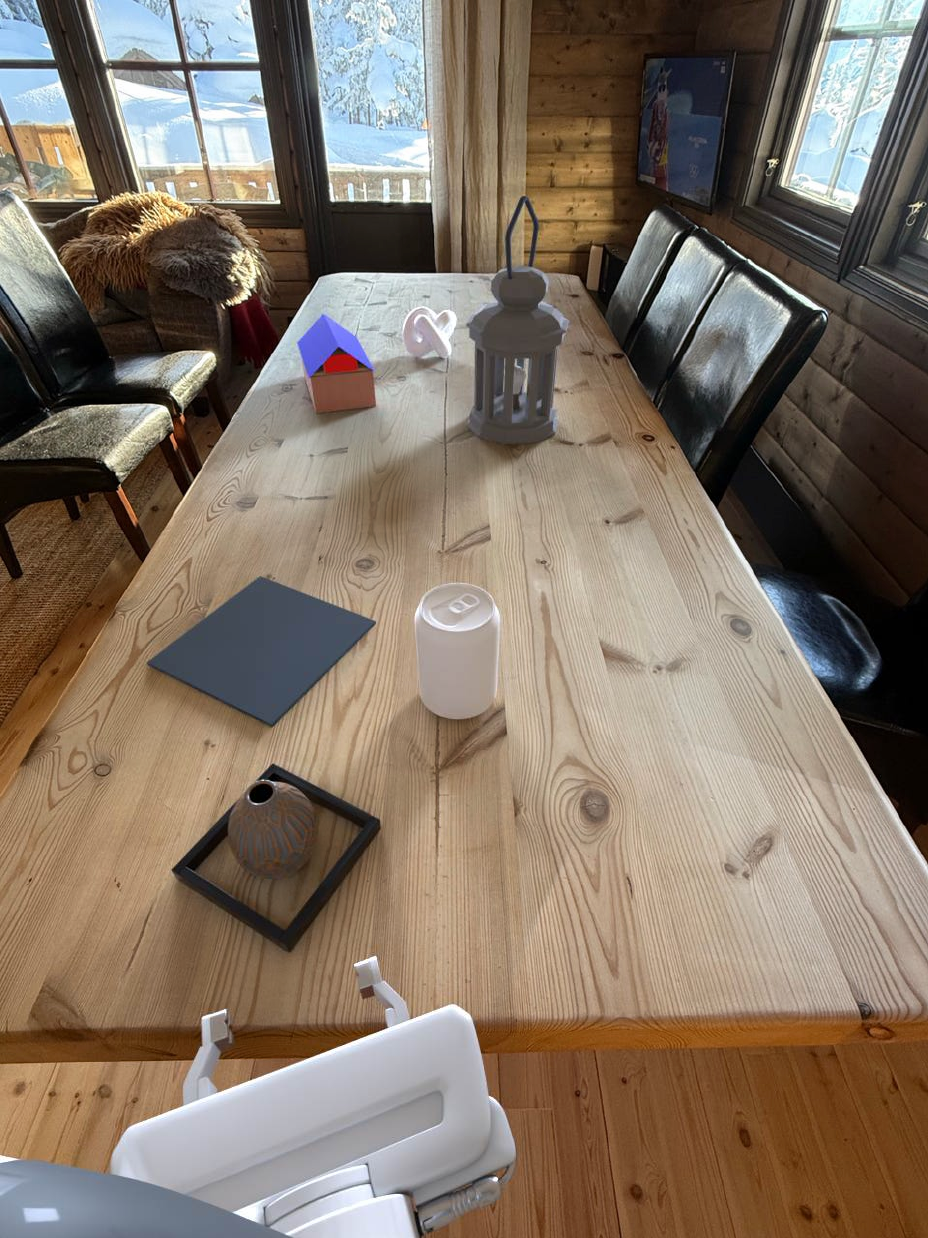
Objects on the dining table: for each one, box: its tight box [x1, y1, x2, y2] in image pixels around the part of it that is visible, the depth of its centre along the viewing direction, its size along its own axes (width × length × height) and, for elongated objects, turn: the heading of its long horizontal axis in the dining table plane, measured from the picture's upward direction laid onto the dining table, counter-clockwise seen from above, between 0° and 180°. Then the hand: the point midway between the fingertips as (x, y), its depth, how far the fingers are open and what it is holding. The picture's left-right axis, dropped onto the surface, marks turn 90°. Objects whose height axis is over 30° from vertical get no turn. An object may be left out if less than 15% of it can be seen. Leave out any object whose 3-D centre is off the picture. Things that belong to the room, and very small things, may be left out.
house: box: [296, 313, 377, 414], centre depth 127 cm, size 12×20×12 cm, turn 17°
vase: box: [227, 780, 319, 880], centre depth 53 cm, size 7×7×9 cm
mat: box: [146, 575, 377, 728], centre depth 75 cm, size 18×18×1 cm
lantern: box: [465, 195, 570, 446], centre depth 107 cm, size 17×17×35 cm
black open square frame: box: [171, 762, 382, 954], centre depth 55 cm, size 12×12×2 cm
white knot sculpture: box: [402, 306, 457, 359], centre depth 142 cm, size 11×12×9 cm
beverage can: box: [414, 582, 501, 720], centre depth 65 cm, size 8×8×12 cm
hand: (293, 988), depth 42 cm, fingers open, 8 cm apart
